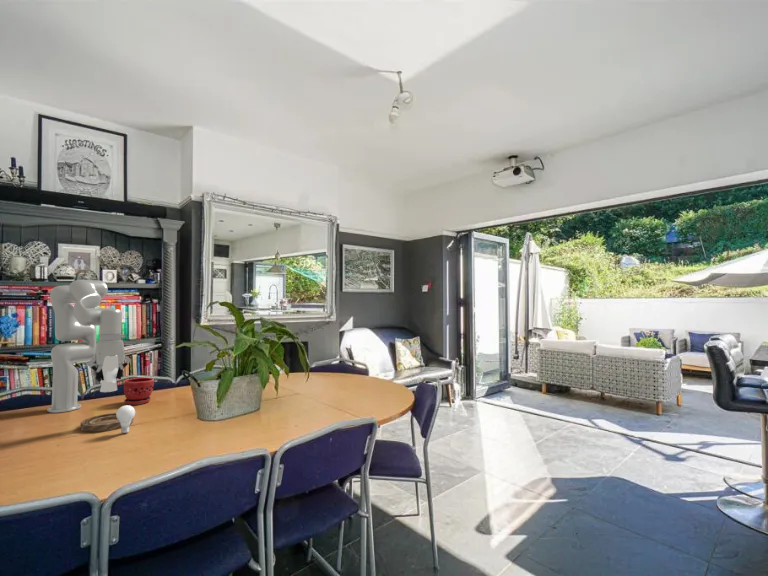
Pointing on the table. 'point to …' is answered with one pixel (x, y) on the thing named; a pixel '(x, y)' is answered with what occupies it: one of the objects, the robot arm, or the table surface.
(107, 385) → the beer glass
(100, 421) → the tray
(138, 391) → the plant pot
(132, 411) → the lightbulb
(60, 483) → the table surface
